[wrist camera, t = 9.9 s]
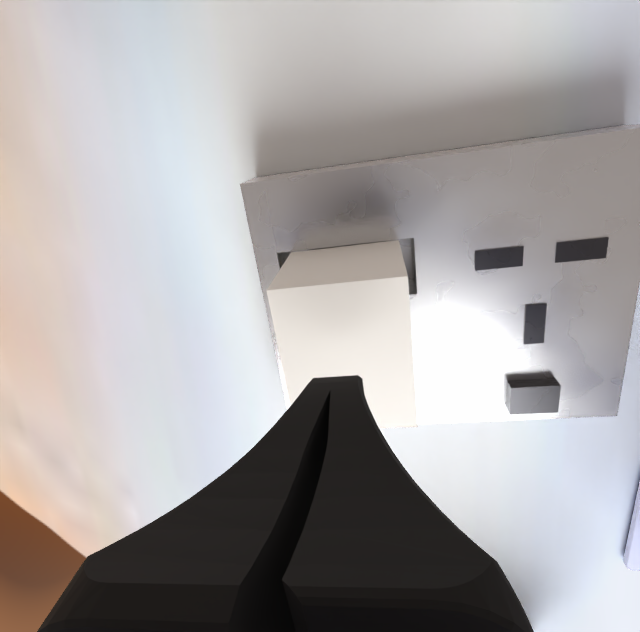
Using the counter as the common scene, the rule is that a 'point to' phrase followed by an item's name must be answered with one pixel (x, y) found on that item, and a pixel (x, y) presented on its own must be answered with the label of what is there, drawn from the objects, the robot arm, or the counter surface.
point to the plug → (348, 324)
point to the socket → (487, 264)
